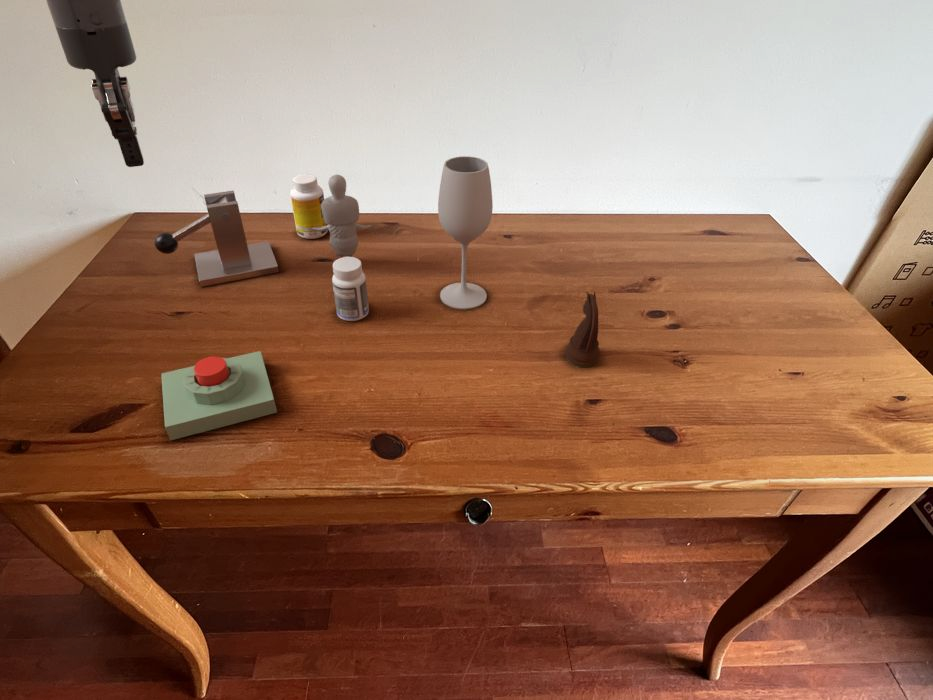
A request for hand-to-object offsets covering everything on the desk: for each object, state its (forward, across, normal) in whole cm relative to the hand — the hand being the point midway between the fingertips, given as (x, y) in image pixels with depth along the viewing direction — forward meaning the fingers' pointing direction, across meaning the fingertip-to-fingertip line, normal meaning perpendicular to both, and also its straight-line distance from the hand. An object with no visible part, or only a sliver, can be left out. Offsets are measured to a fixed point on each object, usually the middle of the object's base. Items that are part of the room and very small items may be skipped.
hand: (135, 164), depth 81 cm
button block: (+20, +28, +3) cm, 35 cm away
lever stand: (+20, -4, +10) cm, 22 cm away
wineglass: (+20, +19, +40) cm, 49 cm away
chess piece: (+20, +39, +49) cm, 66 cm away
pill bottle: (+20, +17, +24) cm, 35 cm away
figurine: (+20, +2, +27) cm, 33 cm away
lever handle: (+13, -4, +6) cm, 15 cm away
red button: (+16, +28, +3) cm, 33 cm away
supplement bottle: (+20, -10, +24) cm, 33 cm away
